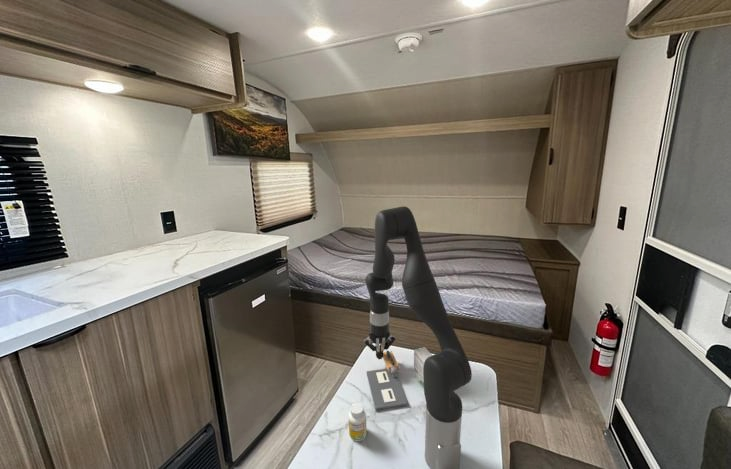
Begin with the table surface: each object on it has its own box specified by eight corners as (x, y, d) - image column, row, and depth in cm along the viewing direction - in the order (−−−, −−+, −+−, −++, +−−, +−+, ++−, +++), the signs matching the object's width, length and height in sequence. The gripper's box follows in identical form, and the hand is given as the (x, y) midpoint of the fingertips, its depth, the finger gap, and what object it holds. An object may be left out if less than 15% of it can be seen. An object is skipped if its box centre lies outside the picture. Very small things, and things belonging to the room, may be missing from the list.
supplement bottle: (355, 423, 92) (354, 398, 90) (370, 431, 89) (369, 405, 87) (345, 436, 88) (344, 410, 85) (360, 445, 85) (359, 418, 83)
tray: (407, 406, 98) (407, 399, 97) (375, 411, 96) (375, 404, 96) (393, 370, 115) (393, 364, 115) (366, 373, 114) (366, 368, 113)
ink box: (436, 386, 106) (437, 359, 103) (425, 390, 104) (425, 363, 102) (423, 371, 114) (424, 345, 111) (412, 375, 112) (413, 349, 109)
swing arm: (390, 375, 108) (390, 368, 107) (382, 356, 119) (382, 350, 118) (400, 374, 109) (400, 366, 108) (391, 355, 120) (391, 348, 119)
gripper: (364, 327, 108) (365, 366, 112) (398, 323, 110) (397, 362, 115) (361, 316, 115) (362, 354, 120) (393, 313, 118) (392, 350, 122)
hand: (379, 358), depth 117 cm, fingers closed
